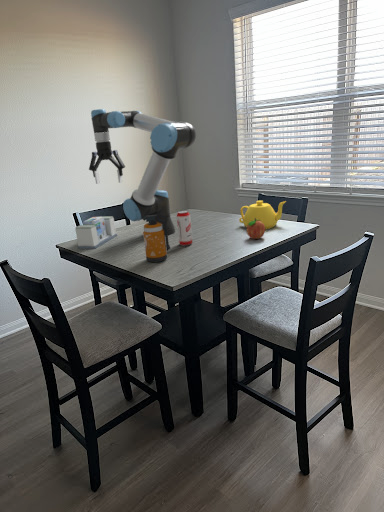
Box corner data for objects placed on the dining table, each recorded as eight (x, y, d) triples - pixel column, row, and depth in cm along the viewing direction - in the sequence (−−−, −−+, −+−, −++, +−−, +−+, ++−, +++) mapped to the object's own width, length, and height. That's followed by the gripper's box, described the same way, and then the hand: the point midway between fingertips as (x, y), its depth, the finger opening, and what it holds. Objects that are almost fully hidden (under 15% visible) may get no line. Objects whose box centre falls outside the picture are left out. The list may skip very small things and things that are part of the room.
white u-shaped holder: (117, 235, 215) (114, 216, 211) (95, 248, 194) (91, 227, 191) (101, 235, 218) (97, 216, 214) (78, 248, 197) (74, 227, 194)
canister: (146, 257, 173) (141, 213, 167) (171, 254, 174) (166, 210, 167) (146, 264, 165) (140, 217, 158) (172, 261, 165) (167, 215, 159)
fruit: (269, 237, 187) (268, 216, 184) (257, 242, 180) (257, 221, 177) (254, 234, 193) (253, 215, 189) (242, 239, 186) (241, 219, 183)
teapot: (288, 222, 210) (288, 197, 206) (283, 231, 194) (283, 204, 190) (243, 222, 219) (242, 198, 215) (235, 230, 204) (233, 204, 199)
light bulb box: (97, 241, 200) (94, 221, 196) (86, 241, 202) (82, 221, 198) (107, 235, 209) (104, 216, 206) (96, 236, 211) (92, 216, 208)
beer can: (194, 242, 189) (191, 210, 184) (190, 246, 184) (186, 213, 179) (182, 242, 191) (179, 210, 186) (177, 246, 186) (174, 213, 181)
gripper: (127, 139, 201) (133, 180, 207) (85, 142, 208) (92, 182, 215) (121, 139, 194) (127, 182, 201) (77, 143, 202) (85, 184, 208)
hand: (109, 182), depth 208 cm, fingers open, 13 cm apart
